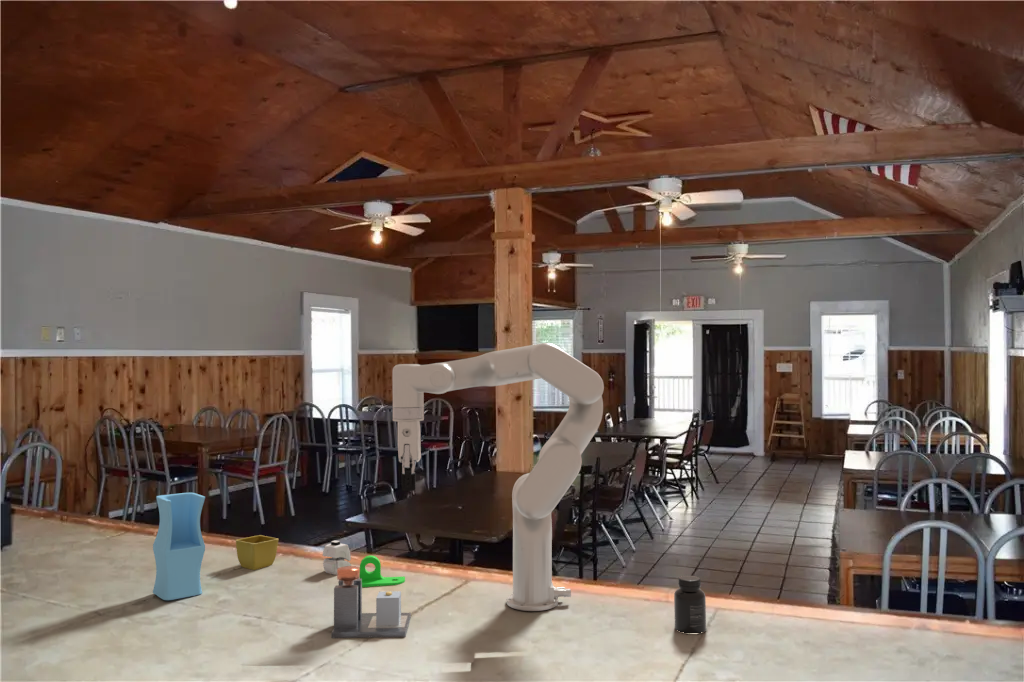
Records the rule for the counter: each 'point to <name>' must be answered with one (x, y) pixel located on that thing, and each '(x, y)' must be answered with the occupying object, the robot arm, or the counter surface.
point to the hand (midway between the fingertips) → (408, 490)
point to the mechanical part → (376, 574)
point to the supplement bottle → (690, 606)
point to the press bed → (360, 616)
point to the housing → (388, 608)
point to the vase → (178, 546)
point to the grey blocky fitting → (336, 556)
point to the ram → (348, 574)
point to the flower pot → (256, 551)
